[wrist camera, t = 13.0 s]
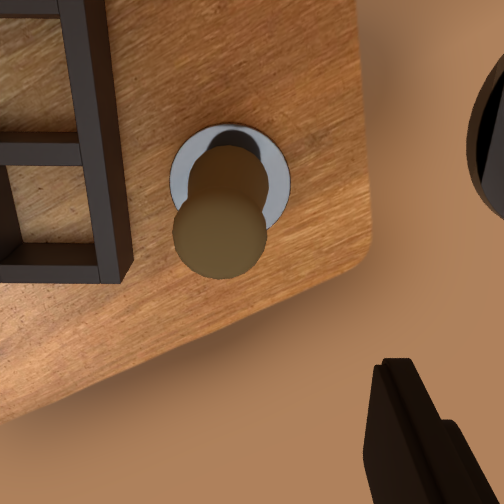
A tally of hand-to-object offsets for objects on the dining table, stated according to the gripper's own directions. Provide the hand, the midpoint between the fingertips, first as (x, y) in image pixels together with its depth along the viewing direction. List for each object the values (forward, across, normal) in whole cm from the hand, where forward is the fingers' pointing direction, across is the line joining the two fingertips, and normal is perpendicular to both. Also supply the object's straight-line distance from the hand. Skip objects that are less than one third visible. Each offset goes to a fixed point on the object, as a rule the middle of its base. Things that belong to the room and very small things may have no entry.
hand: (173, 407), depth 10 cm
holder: (+24, +13, -2) cm, 28 cm away
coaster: (+25, 0, +2) cm, 25 cm away
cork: (+24, 0, +2) cm, 24 cm away
